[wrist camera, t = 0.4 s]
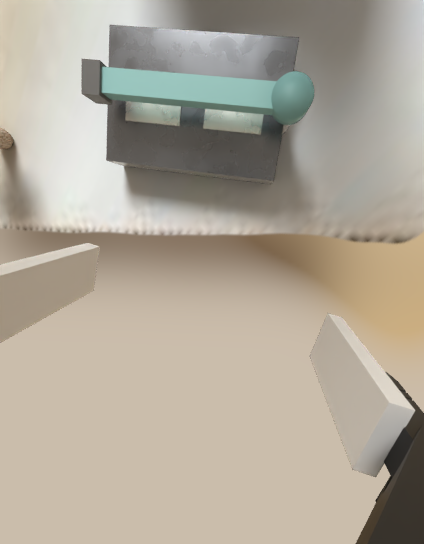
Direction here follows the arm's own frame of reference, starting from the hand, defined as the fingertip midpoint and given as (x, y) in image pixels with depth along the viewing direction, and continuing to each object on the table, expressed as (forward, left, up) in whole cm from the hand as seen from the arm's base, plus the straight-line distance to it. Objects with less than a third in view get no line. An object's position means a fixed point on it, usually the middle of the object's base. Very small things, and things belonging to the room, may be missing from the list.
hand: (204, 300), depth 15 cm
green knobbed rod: (-16, -6, -19) cm, 26 cm away
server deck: (-16, -7, -27) cm, 32 cm away
